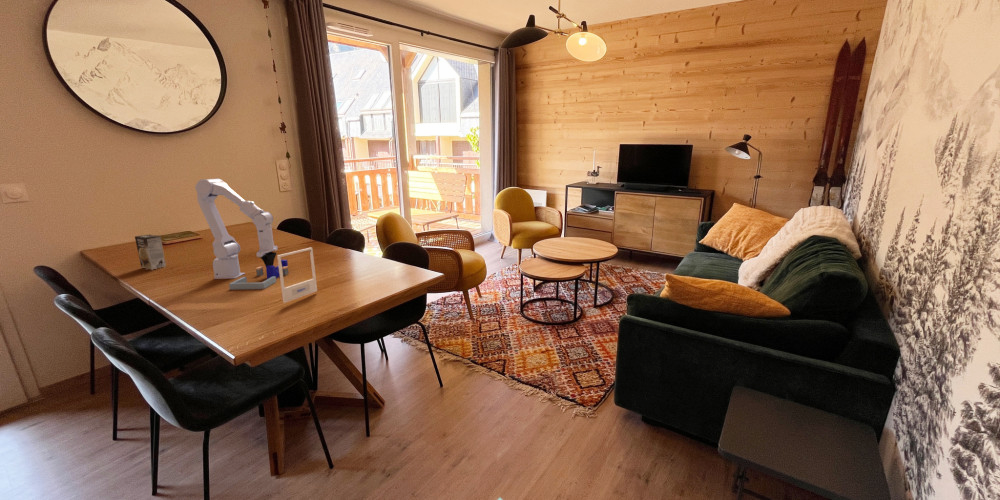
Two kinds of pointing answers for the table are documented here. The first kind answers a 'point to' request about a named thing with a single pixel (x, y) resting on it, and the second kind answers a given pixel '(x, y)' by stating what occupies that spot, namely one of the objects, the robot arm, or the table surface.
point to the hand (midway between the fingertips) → (269, 268)
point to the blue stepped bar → (275, 269)
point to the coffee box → (150, 251)
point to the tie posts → (260, 270)
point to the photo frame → (299, 288)
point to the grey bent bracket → (251, 284)
